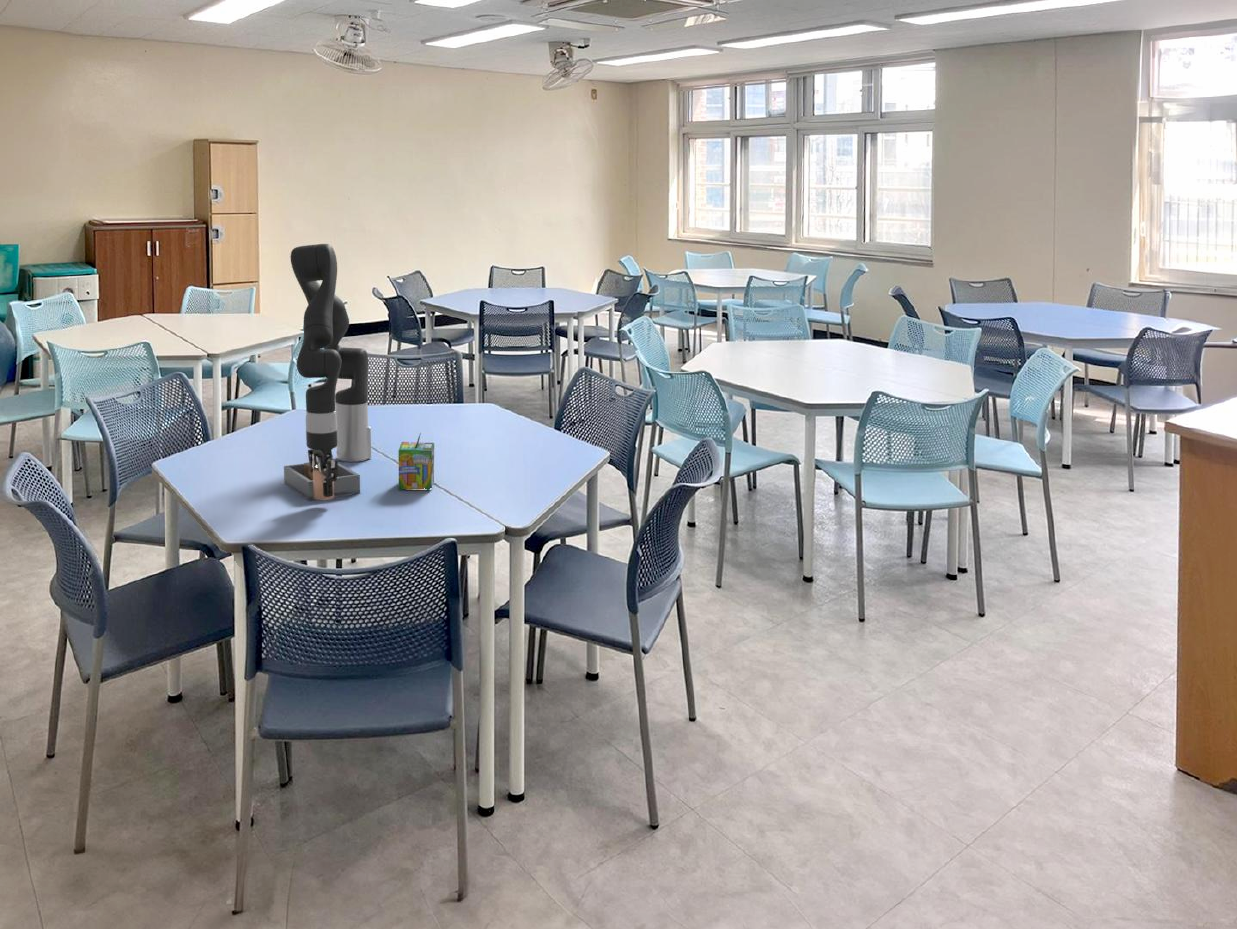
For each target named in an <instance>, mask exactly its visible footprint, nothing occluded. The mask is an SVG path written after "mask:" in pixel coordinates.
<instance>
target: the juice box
mask: <svg viewBox="0 0 1237 929" xmlns="http://www.w3.org/2000/svg"><path fill="white" fill-rule="evenodd" d="M421 435H422V432H420V433H419V435H418V438H417V441H401V443H400V444H399V445H400V446H399V448H398V491H402V490H401V489H424V488H425V489H430V488H432V489H433V487H434V484H433V482H434V483H435V475H434V474H435V442H424V441H423V442H420V439H421V438H420V437H421ZM432 486H433V487H432Z"/></svg>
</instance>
